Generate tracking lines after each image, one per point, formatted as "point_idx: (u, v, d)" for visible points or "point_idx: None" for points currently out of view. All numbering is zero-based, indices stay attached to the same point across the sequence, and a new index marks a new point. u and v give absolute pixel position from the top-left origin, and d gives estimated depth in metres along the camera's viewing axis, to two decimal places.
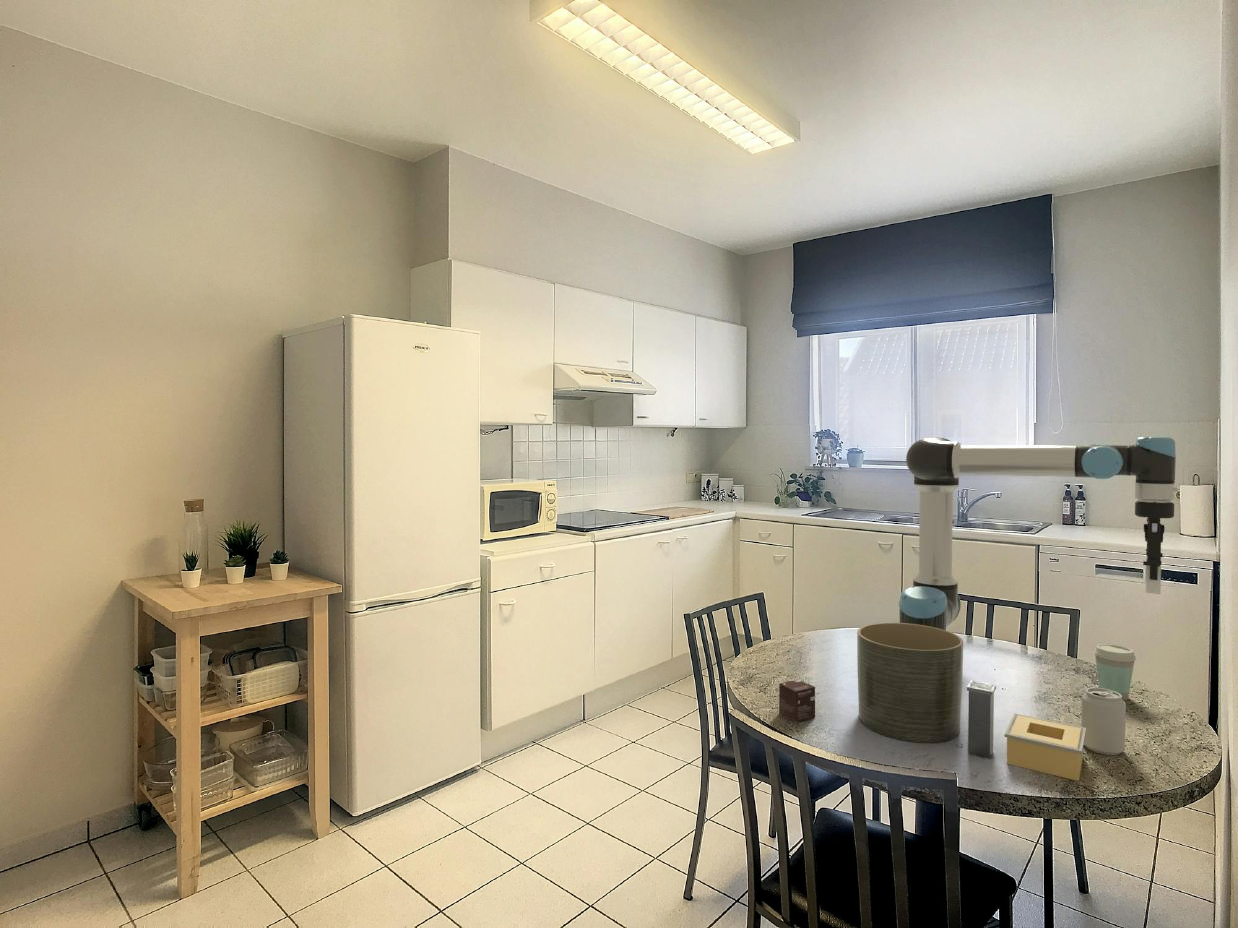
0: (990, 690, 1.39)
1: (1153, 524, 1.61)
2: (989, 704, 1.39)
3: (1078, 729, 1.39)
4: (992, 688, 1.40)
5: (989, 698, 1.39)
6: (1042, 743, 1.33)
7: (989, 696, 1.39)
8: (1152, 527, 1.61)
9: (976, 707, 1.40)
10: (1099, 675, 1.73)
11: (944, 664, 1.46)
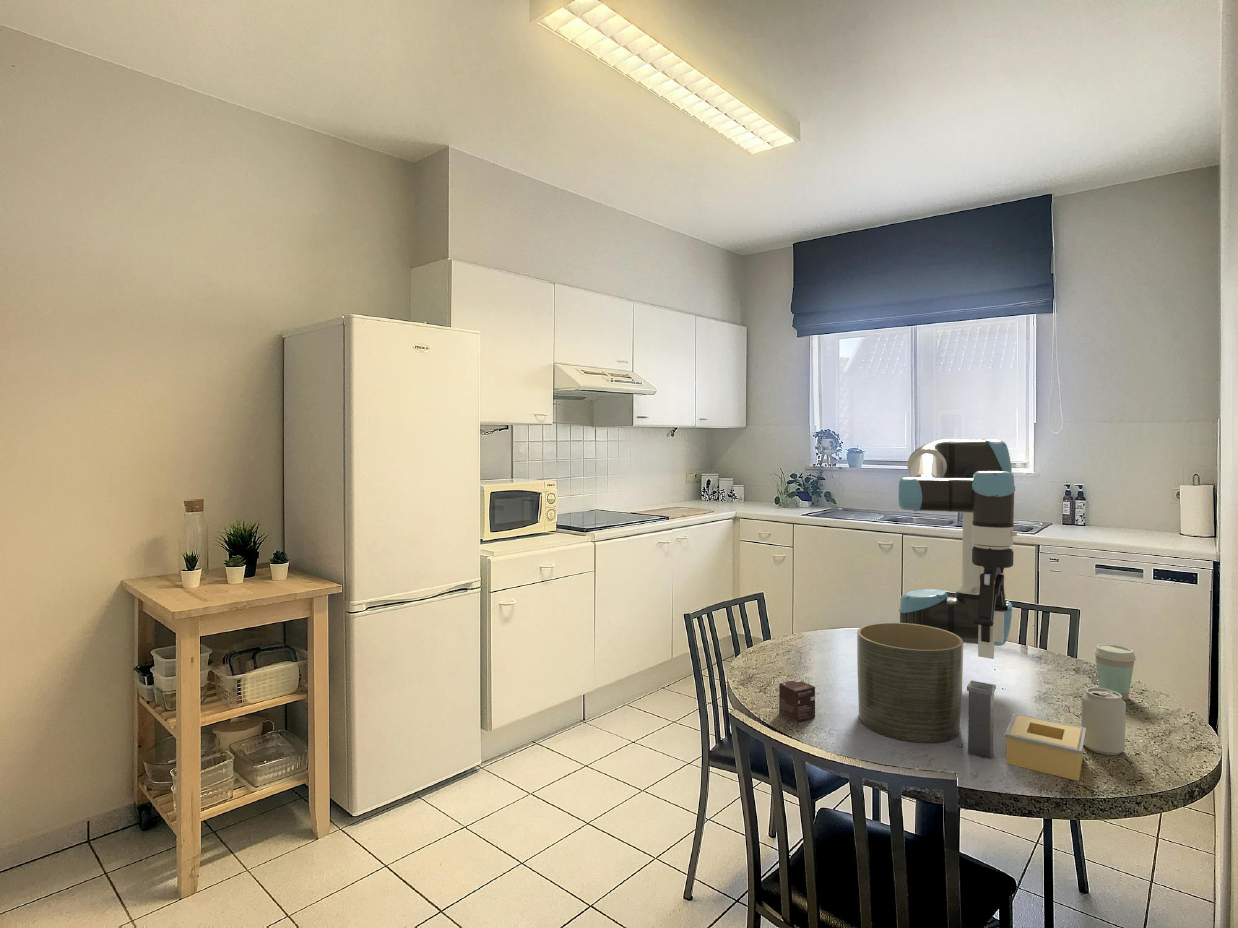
0: (990, 690, 1.39)
1: (985, 575, 1.36)
2: (989, 704, 1.39)
3: (1078, 729, 1.39)
4: (992, 688, 1.40)
5: (989, 698, 1.39)
6: (1042, 743, 1.33)
7: (989, 696, 1.39)
8: (984, 579, 1.36)
9: (976, 707, 1.40)
10: (1099, 675, 1.73)
11: (944, 664, 1.46)
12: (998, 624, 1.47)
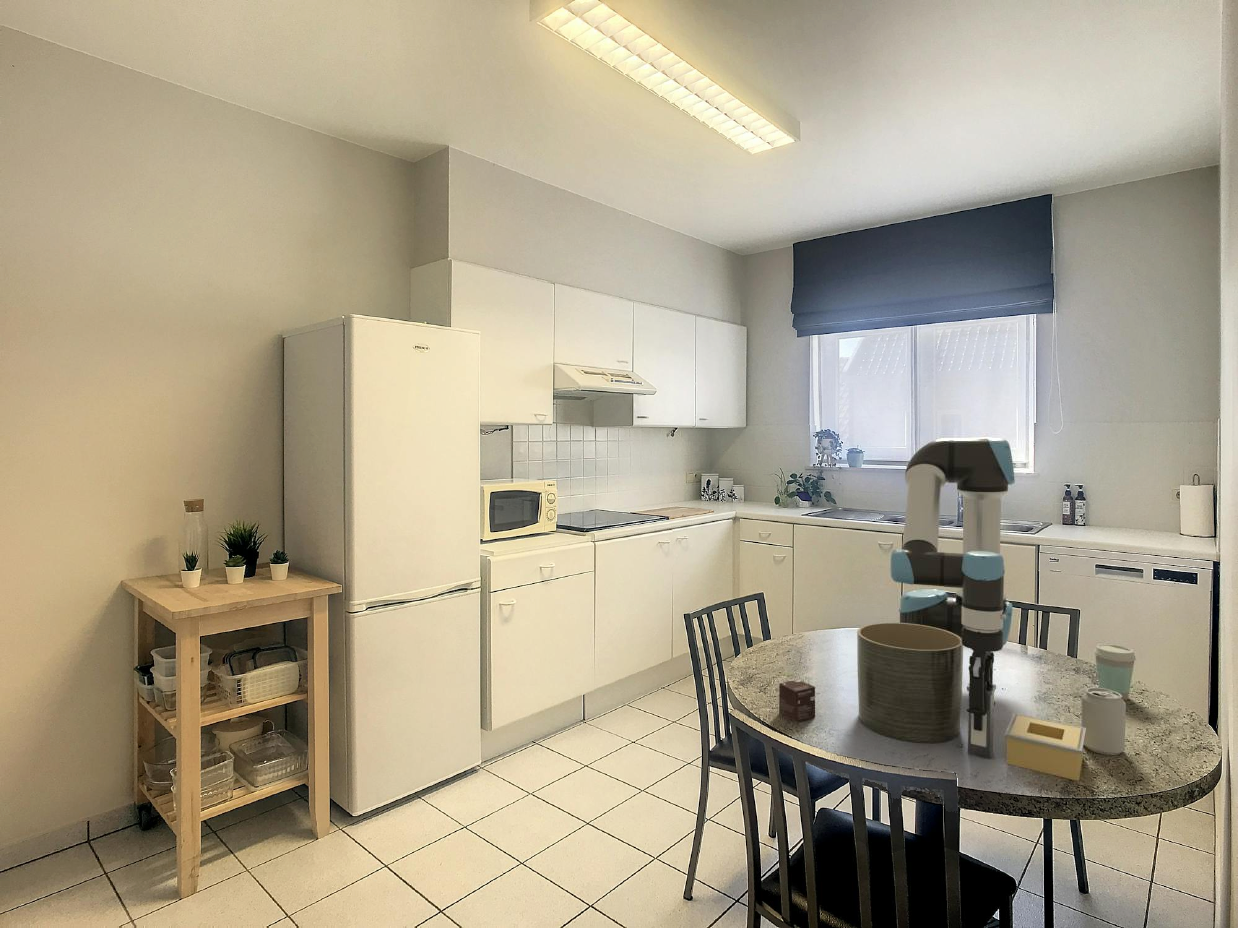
0: (990, 690, 1.39)
1: (974, 669, 1.36)
2: (989, 704, 1.39)
3: (1078, 729, 1.39)
4: (992, 688, 1.40)
5: (989, 698, 1.39)
6: (1042, 743, 1.33)
7: (989, 696, 1.39)
8: (973, 672, 1.36)
9: None
10: (1099, 675, 1.73)
11: (944, 664, 1.46)
12: None
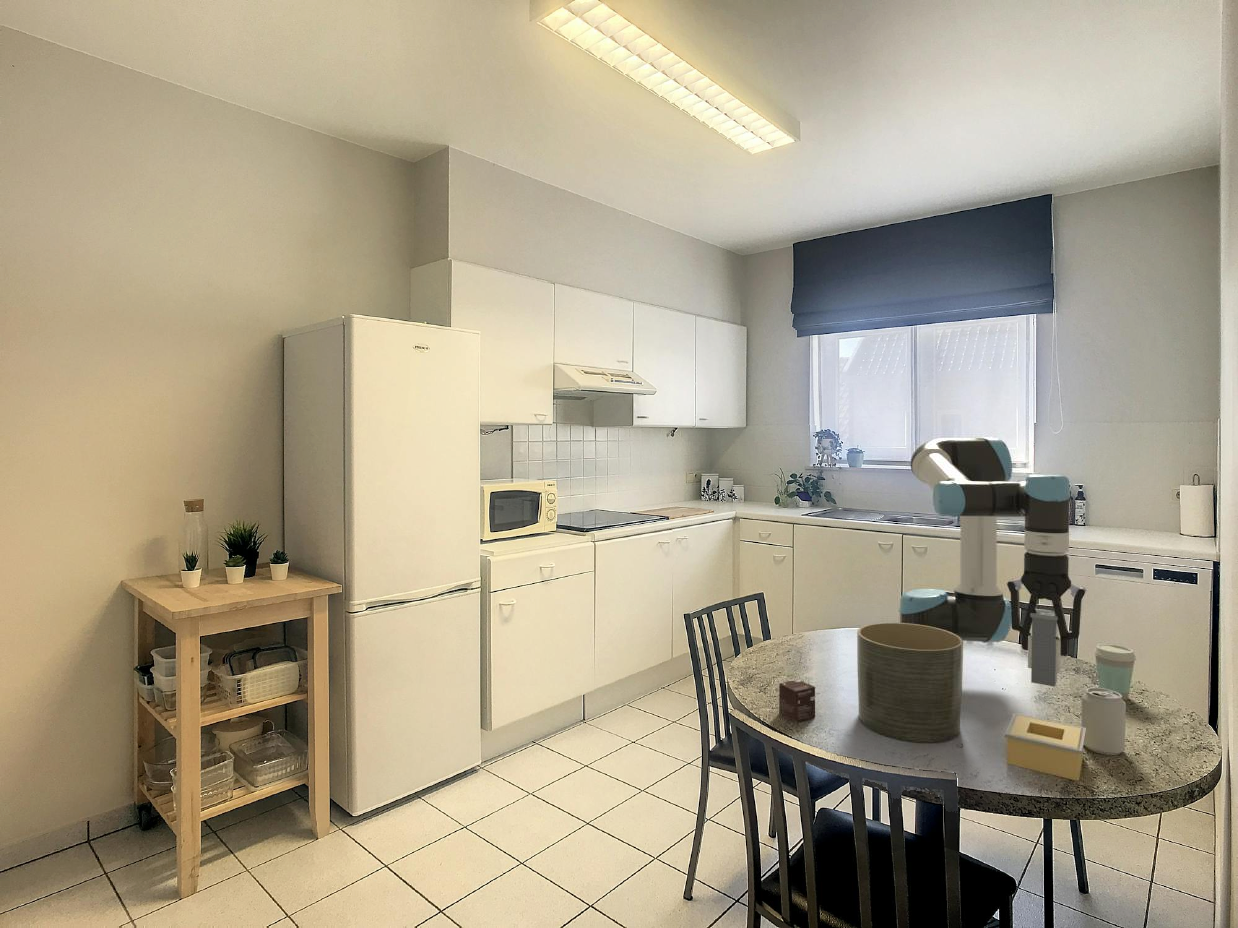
0: (1033, 613, 1.37)
1: None
2: (1032, 626, 1.37)
3: (1078, 729, 1.39)
4: (1042, 614, 1.36)
5: (1032, 620, 1.37)
6: (1042, 743, 1.33)
7: (1032, 618, 1.37)
8: None
9: None
10: (1099, 675, 1.73)
11: (944, 664, 1.46)
12: None
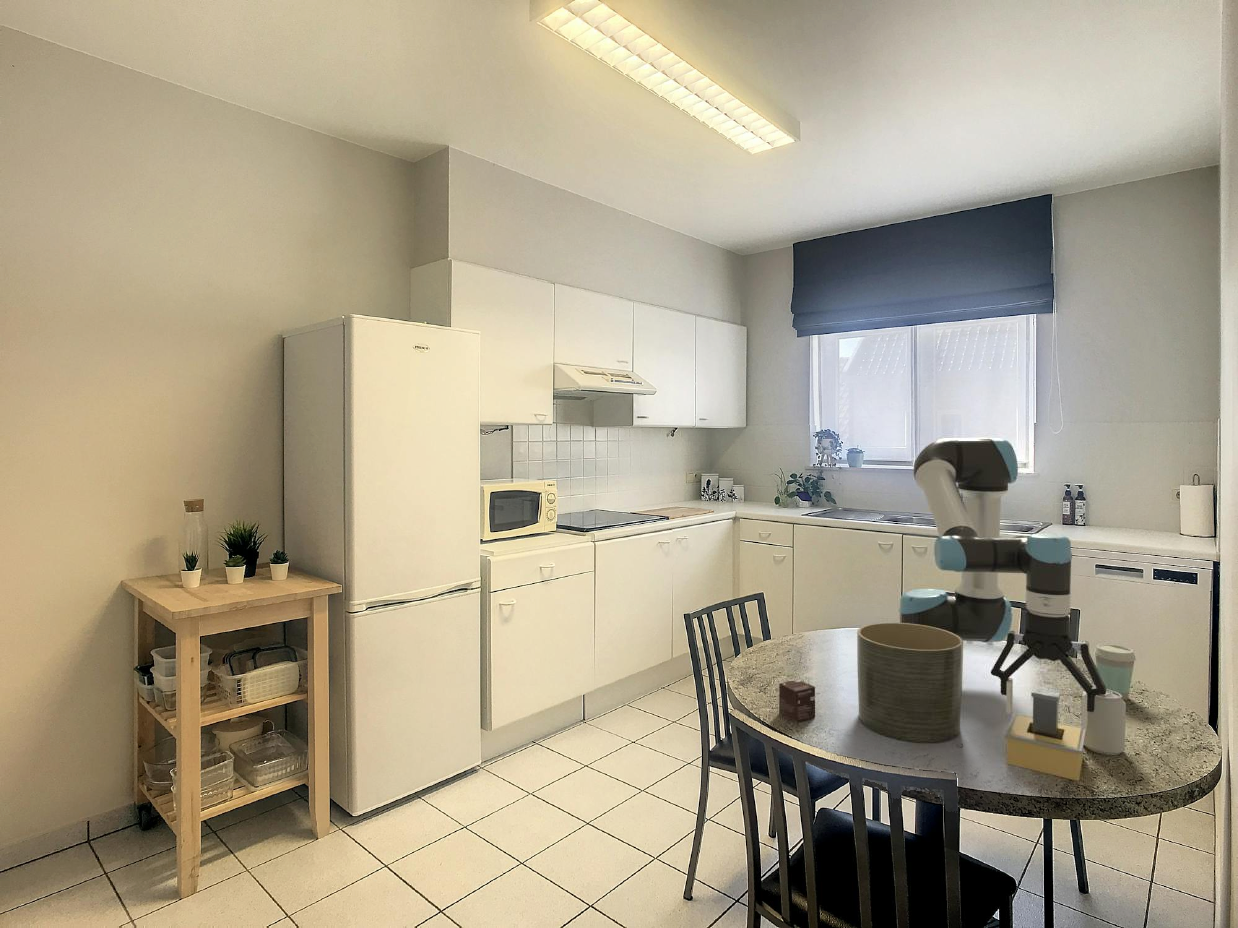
0: (1034, 692, 1.38)
1: (1009, 632, 1.42)
2: (1033, 706, 1.38)
3: (1078, 729, 1.39)
4: (1043, 694, 1.37)
5: (1033, 699, 1.38)
6: (1042, 743, 1.33)
7: (1033, 697, 1.38)
8: None
9: None
10: None
11: (944, 664, 1.46)
12: (1082, 707, 1.34)
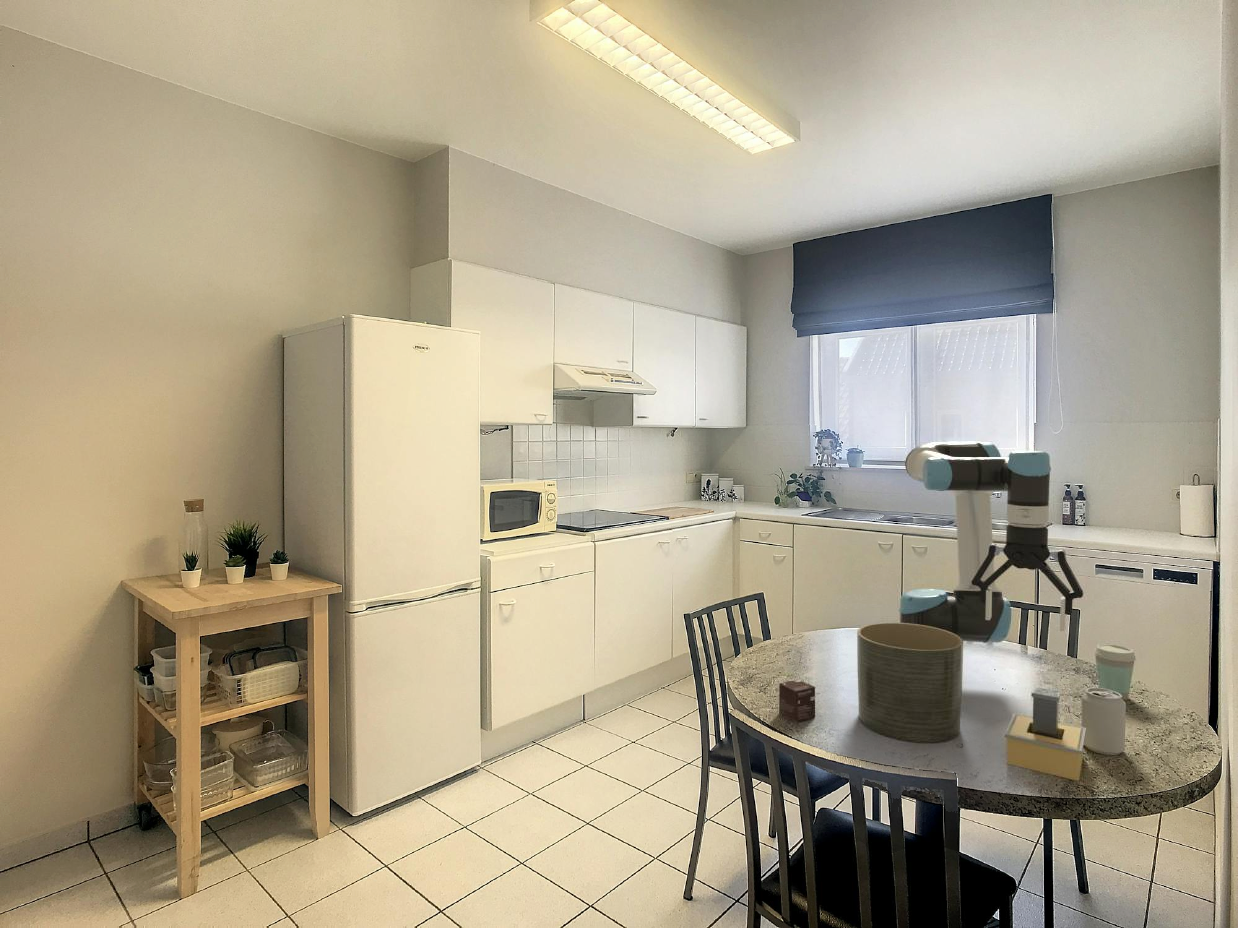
0: (1034, 692, 1.38)
1: (991, 545, 1.49)
2: (1033, 706, 1.38)
3: (1078, 729, 1.39)
4: (1043, 694, 1.37)
5: (1033, 699, 1.38)
6: (1042, 743, 1.33)
7: (1033, 697, 1.38)
8: None
9: None
10: (1099, 675, 1.73)
11: (944, 664, 1.46)
12: None
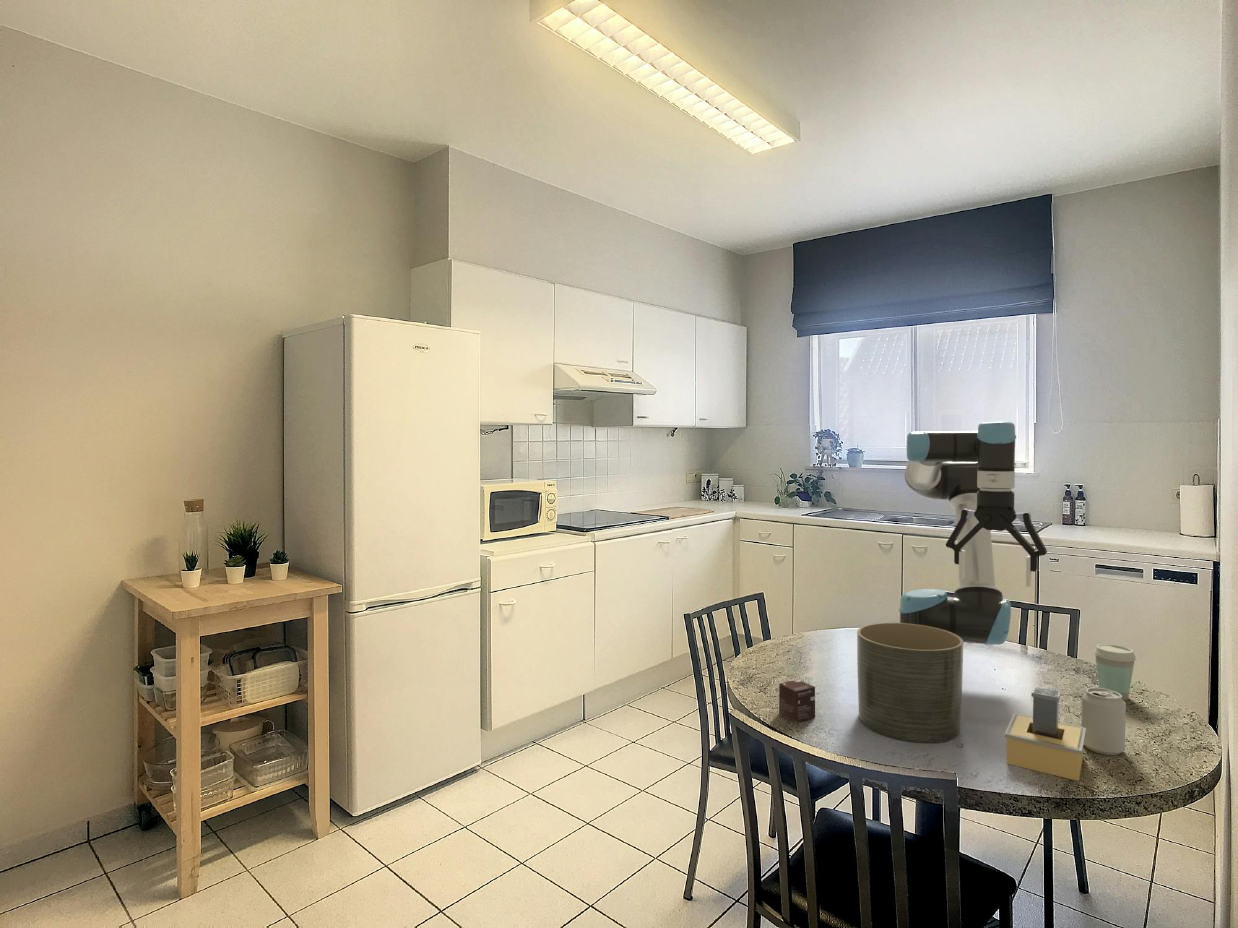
0: (1034, 692, 1.38)
1: None
2: (1033, 706, 1.38)
3: (1078, 729, 1.39)
4: (1043, 694, 1.37)
5: (1033, 699, 1.38)
6: (1042, 743, 1.33)
7: (1033, 697, 1.38)
8: None
9: None
10: (1099, 675, 1.73)
11: (944, 664, 1.46)
12: None
